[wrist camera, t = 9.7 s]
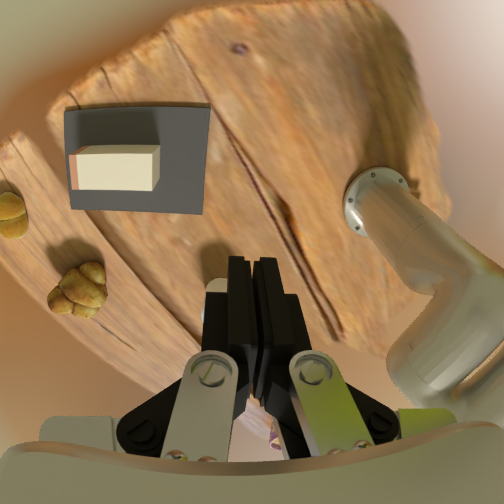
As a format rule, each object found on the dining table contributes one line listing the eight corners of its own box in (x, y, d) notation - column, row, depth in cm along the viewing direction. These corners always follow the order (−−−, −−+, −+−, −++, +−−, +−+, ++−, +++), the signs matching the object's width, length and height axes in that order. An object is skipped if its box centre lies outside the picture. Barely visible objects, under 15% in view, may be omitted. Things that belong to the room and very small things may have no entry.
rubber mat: (210, 108, 36) (210, 108, 36) (202, 213, 45) (202, 214, 44) (65, 111, 33) (63, 111, 33) (72, 207, 42) (71, 209, 41)
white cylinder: (194, 290, 53) (192, 317, 47) (220, 268, 51) (220, 295, 45) (222, 309, 56) (222, 336, 50) (248, 289, 54) (251, 316, 48)
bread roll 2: (89, 246, 46) (72, 274, 39) (126, 282, 51) (116, 313, 44) (55, 279, 49) (39, 306, 42) (89, 309, 54) (77, 338, 47)
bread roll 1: (23, 187, 38) (10, 197, 35) (34, 232, 43) (24, 244, 40) (-6, 192, 38) (-18, 201, 34) (5, 233, 42) (-5, 244, 39)
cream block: (152, 153, 34) (68, 155, 32) (152, 191, 36) (71, 189, 35) (160, 145, 38) (83, 145, 36) (159, 178, 40) (85, 177, 39)
